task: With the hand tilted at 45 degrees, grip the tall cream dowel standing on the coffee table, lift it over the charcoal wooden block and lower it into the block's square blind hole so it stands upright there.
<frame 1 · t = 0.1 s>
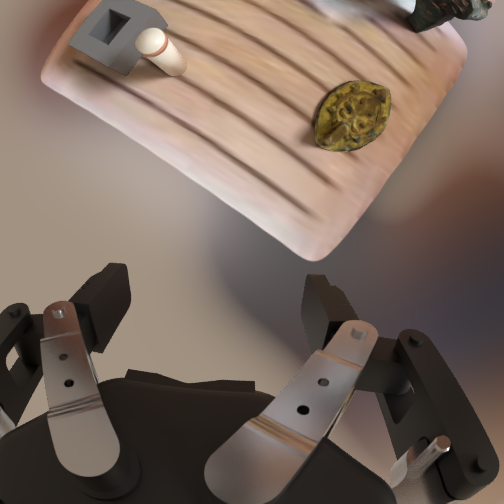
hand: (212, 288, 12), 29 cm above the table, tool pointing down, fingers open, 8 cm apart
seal: (352, 115, 36), on the table
hole block: (124, 38, 30), on the table
dowel: (176, 66, 32), on the table
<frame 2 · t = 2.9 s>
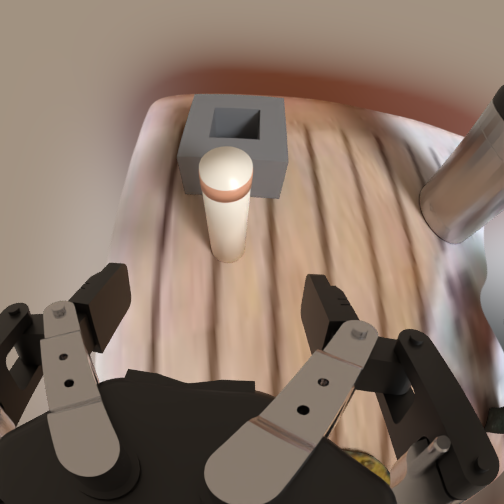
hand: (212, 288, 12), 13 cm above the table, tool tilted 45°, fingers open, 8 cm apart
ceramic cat: (500, 372, 23), on the table
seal: (325, 489, 19), on the table
hole block: (234, 160, 31), on the table
dowel: (228, 247, 27), on the table
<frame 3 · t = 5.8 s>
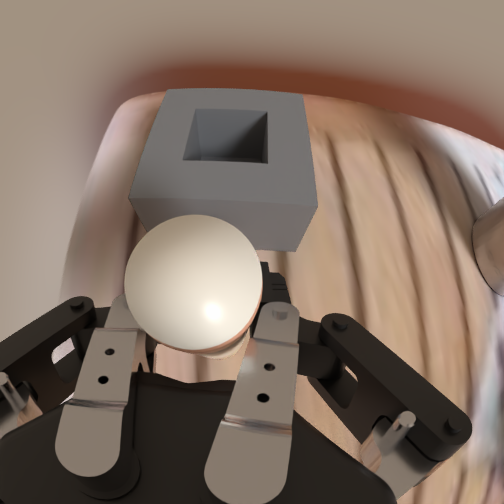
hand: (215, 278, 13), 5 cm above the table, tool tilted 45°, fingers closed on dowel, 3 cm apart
hole block: (228, 188, 22), on the table
dowel: (218, 334, 17), on the table, touching gripper
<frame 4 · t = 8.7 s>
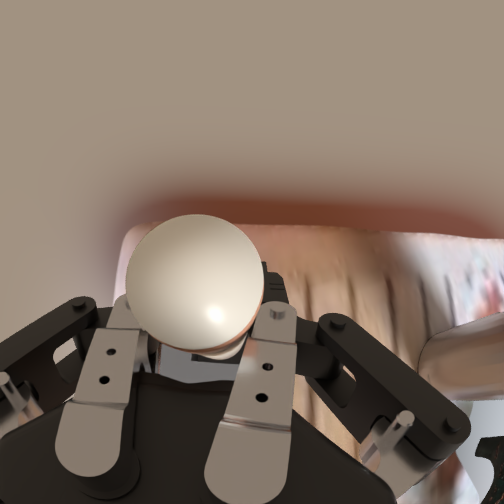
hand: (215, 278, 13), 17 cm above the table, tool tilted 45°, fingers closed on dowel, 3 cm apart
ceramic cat: (461, 490, 20), on the table
hole block: (223, 341, 28), on the table
dowel: (219, 334, 17), point 12 cm above the table, touching gripper
when the fingers open (9 cm above the table, at t = 11.1 s): dowel drops 2 cm, resting on hole block.
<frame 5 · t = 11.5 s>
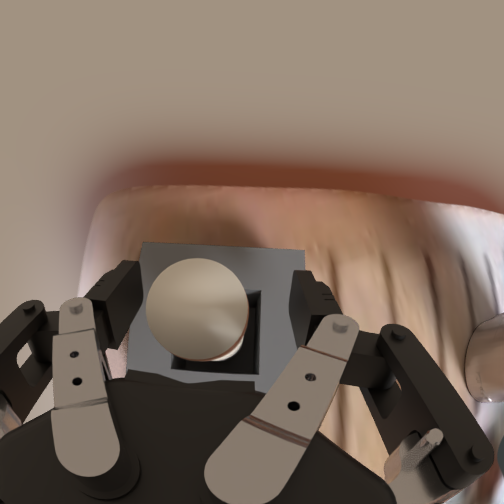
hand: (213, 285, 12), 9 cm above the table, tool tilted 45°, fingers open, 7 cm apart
hole block: (221, 339, 20), on the table
dowel: (220, 339, 20), point 1 cm above the table, touching hole block
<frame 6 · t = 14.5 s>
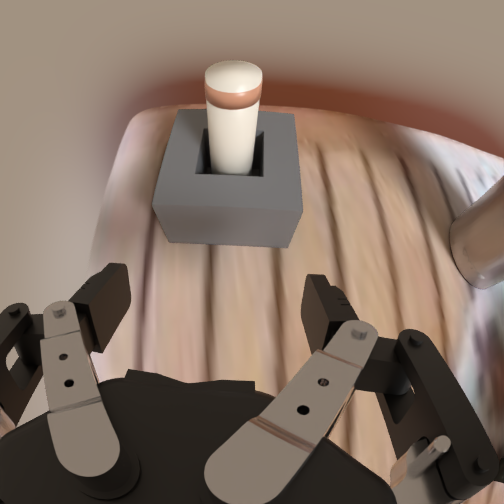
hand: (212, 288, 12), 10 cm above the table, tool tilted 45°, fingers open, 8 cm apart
hole block: (231, 195, 25), on the table
dowel: (231, 189, 25), point 1 cm above the table, touching hole block
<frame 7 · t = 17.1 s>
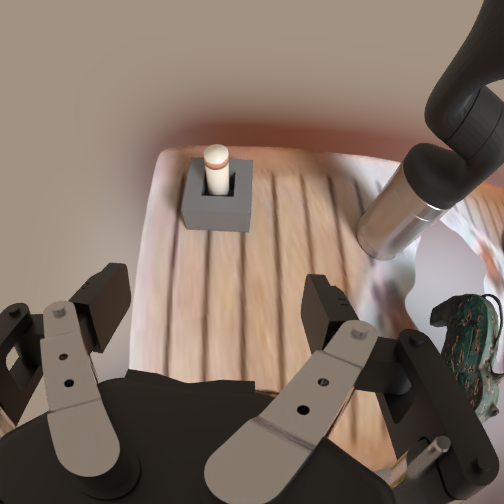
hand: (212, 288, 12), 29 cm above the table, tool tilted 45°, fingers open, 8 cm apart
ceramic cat: (426, 360, 39), on the table
hole block: (220, 204, 47), on the table
dowel: (219, 201, 46), point 1 cm above the table, touching hole block
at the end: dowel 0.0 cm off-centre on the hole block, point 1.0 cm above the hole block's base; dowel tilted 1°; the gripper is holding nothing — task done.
